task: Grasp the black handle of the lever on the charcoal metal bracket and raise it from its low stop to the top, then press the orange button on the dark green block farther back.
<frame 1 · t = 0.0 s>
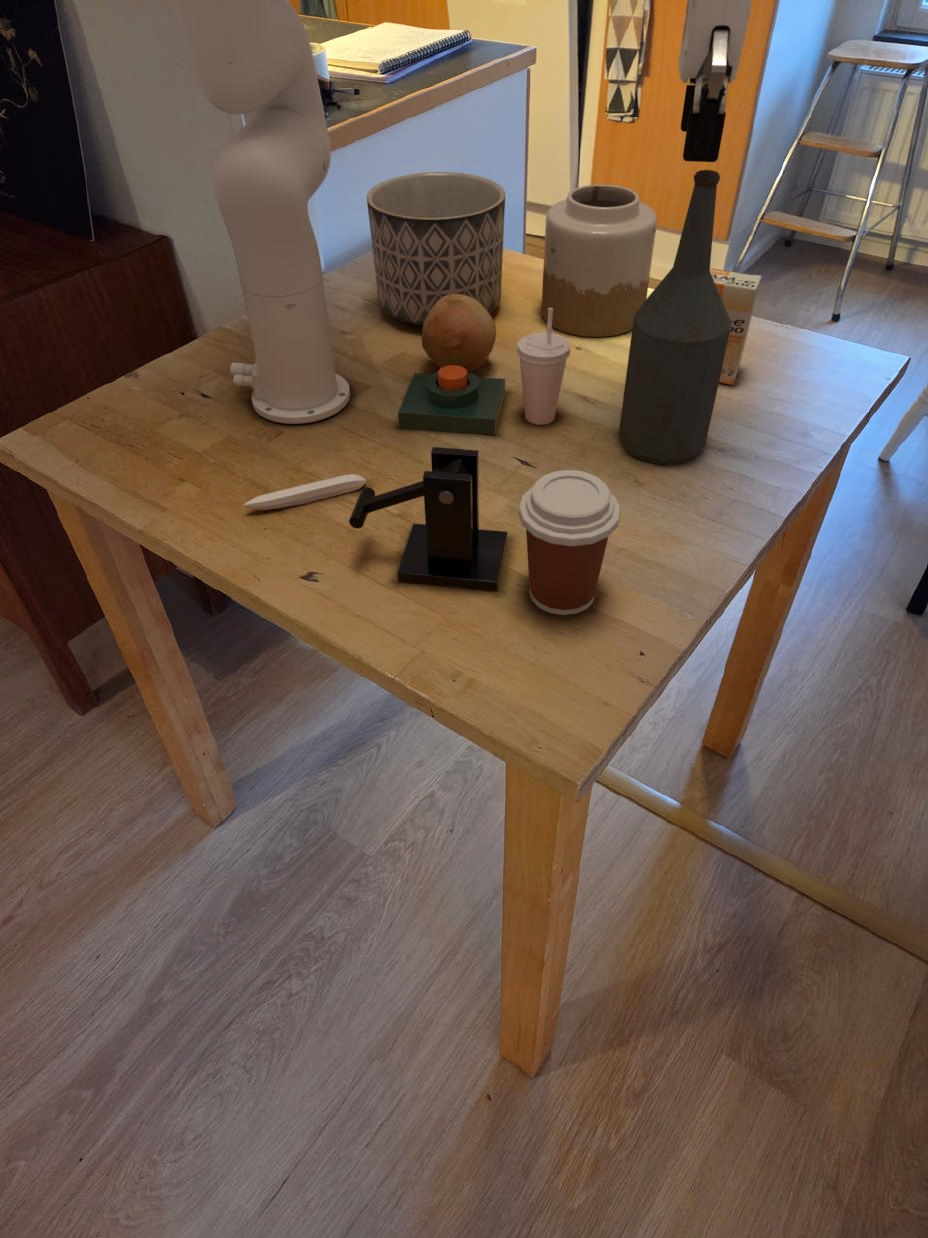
hand: (697, 145, 83), 31 cm above the table, tool pointing down, fingers open, 9 cm apart
smoothie: (539, 418, 106), on the table
coffee cup: (561, 593, 83), on the table
onion: (459, 369, 116), on the table
lever: (408, 492, 81), point 8 cm above the table, hinge at -25.0°
button: (452, 378, 104), point 4 cm above the table, slide at 0.1 cm
vase: (592, 315, 127), on the table
bottle: (660, 444, 102), on the table
pen: (307, 501, 94), on the table
bracket: (454, 560, 86), on the table
supplement box: (705, 374, 114), on the table
button block: (453, 410, 108), on the table
planter: (440, 310, 129), on the table
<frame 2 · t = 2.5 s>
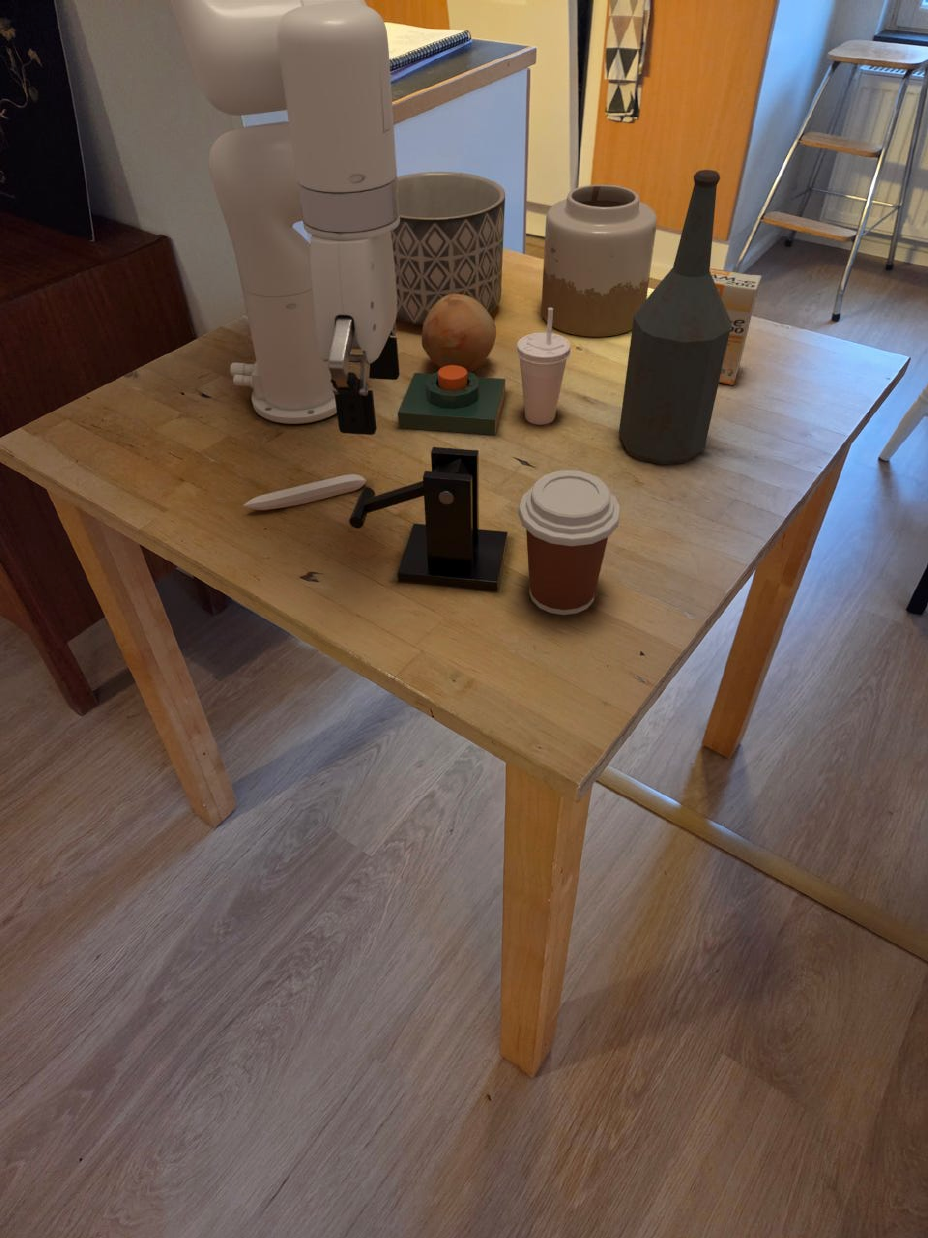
hand: (371, 403, 77), 17 cm above the table, tool pointing down, fingers open, 9 cm apart
nothing on the table moved.
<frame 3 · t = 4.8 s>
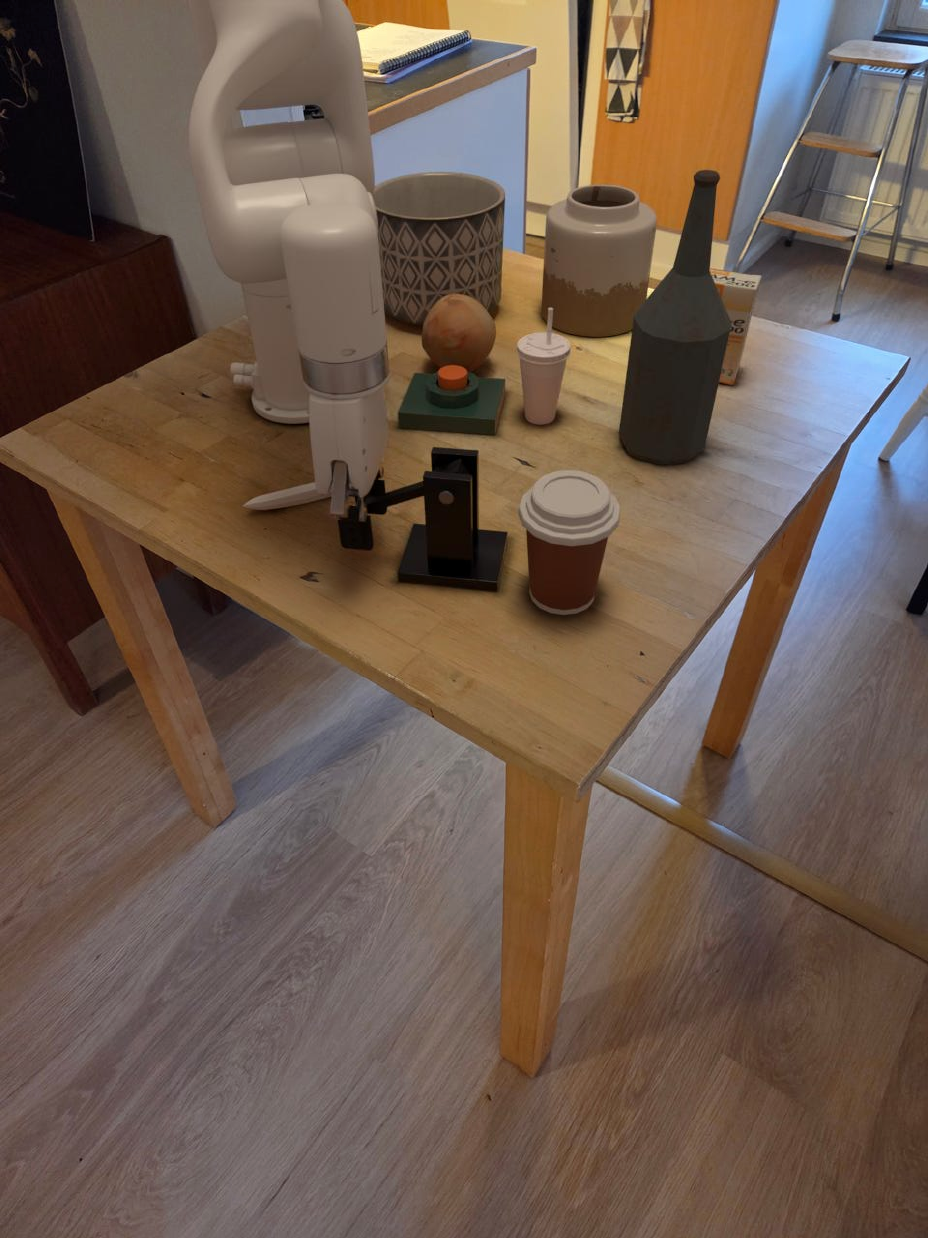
hand: (364, 528, 85), 3 cm above the table, tool pointing down, fingers closed on lever, 5 cm apart
lever: (408, 492, 81), point 8 cm above the table, hinge at -25.0°, touching gripper
everything else where it was.
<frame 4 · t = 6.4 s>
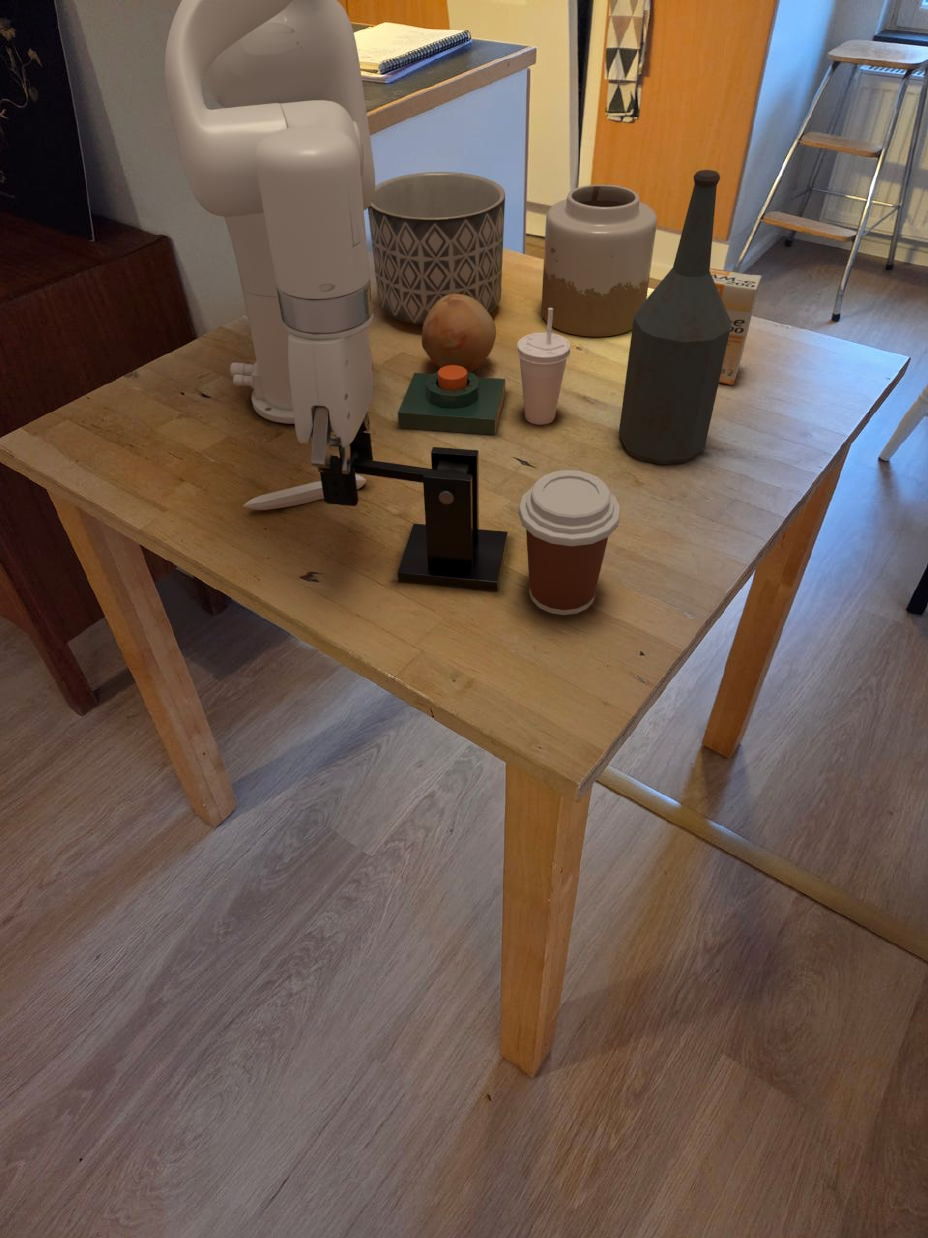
hand: (349, 483, 82), 9 cm above the table, tool pointing down, fingers closed on lever, 5 cm apart
lever: (403, 472, 80), point 10 cm above the table, hinge at 4.3°, touching gripper
everything else where it was.
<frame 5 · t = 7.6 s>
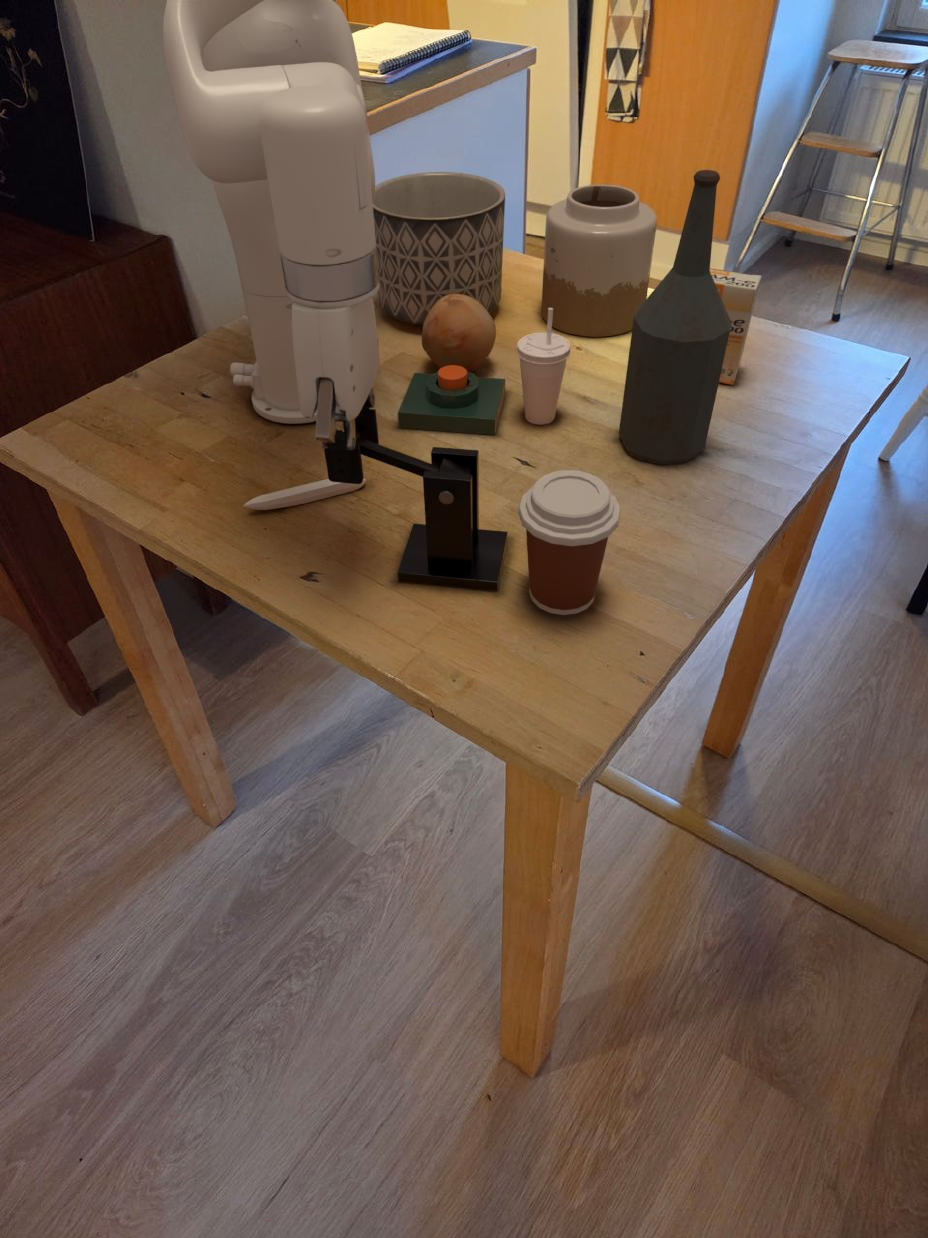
hand: (354, 461, 80), 11 cm above the table, tool pointing down, fingers open, 5 cm apart
lever: (404, 462, 79), point 12 cm above the table, hinge at 18.8°
everything else where it was.
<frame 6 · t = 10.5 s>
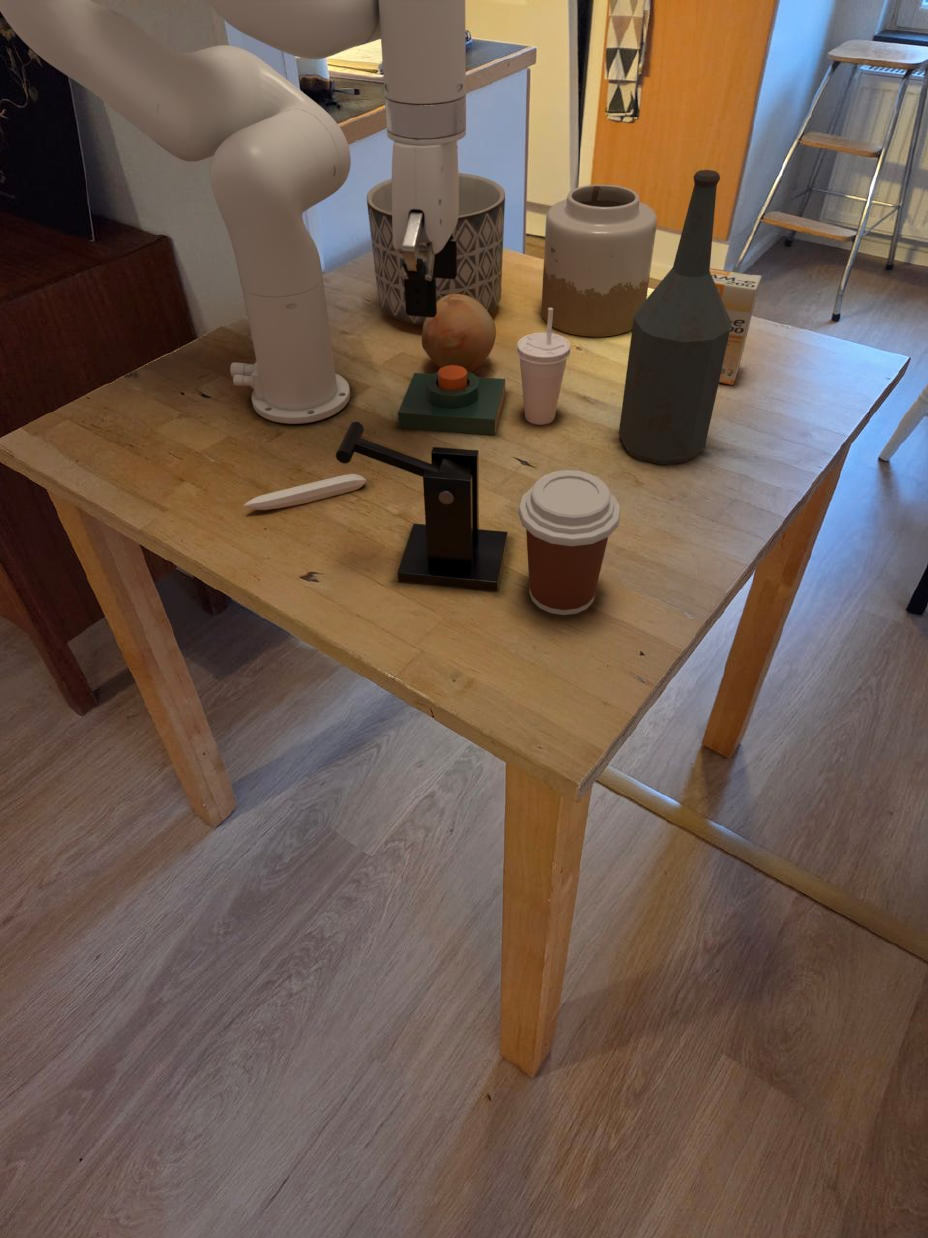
hand: (432, 295, 91), 17 cm above the table, tool pointing down, fingers open, 9 cm apart
nothing on the table moved.
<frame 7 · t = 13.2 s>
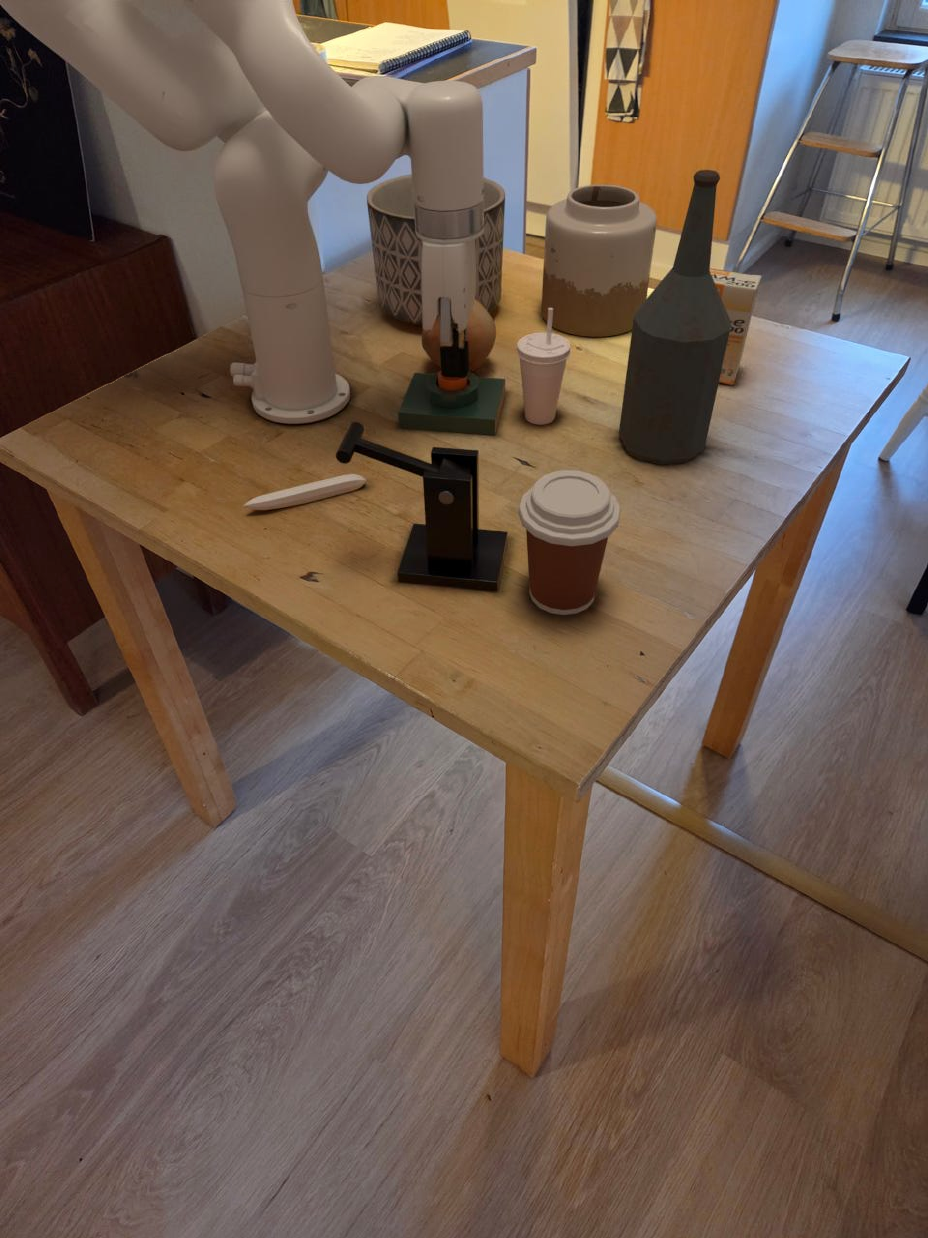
hand: (455, 373, 104), 5 cm above the table, tool pointing down, fingers closed
button: (452, 380, 105), point 4 cm above the table, slide at -0.2 cm, touching gripper
everything else where it was.
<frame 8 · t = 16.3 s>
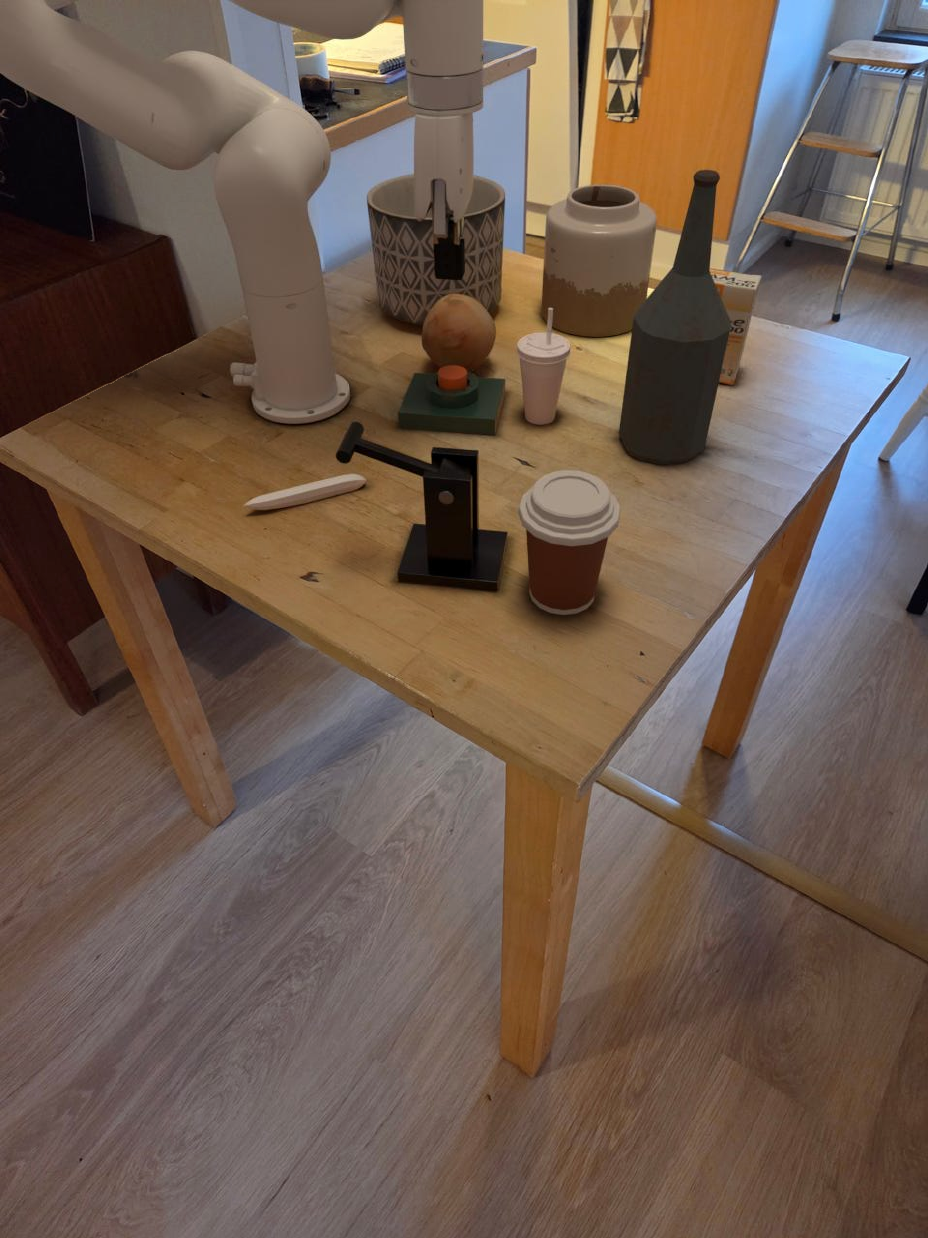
hand: (449, 276, 96), 17 cm above the table, tool pointing down, fingers closed
button: (452, 378, 104), point 4 cm above the table, slide at 0.1 cm
everything else where it was.
at the end: lever at +19° (first picture: -25°); button pushed in 1.0 cm at the most during the clip, back to where it started at the end; button slide at 0.1 cm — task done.
